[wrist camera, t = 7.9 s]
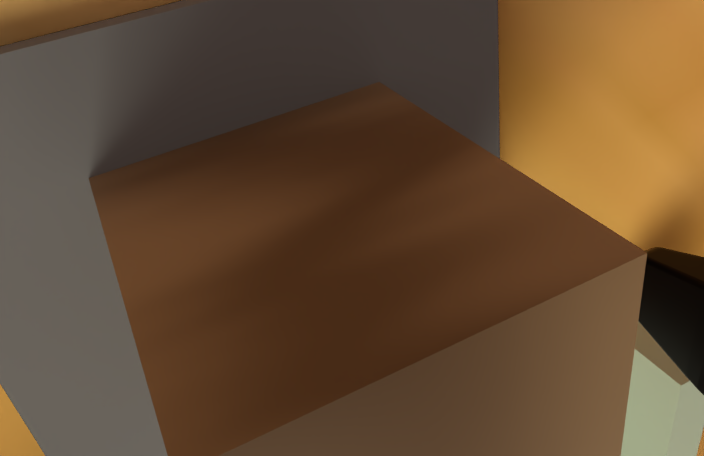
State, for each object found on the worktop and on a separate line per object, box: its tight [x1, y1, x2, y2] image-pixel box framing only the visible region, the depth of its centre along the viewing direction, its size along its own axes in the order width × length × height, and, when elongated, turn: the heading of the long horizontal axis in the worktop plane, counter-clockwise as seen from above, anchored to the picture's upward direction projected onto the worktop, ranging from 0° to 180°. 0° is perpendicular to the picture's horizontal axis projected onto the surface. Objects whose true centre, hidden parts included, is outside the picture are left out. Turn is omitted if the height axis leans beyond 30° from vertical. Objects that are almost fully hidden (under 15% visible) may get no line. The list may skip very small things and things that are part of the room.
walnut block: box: [88, 82, 647, 456], centre depth 10 cm, size 5×5×6 cm
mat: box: [0, 0, 500, 456], centre depth 12 cm, size 10×9×1 cm
